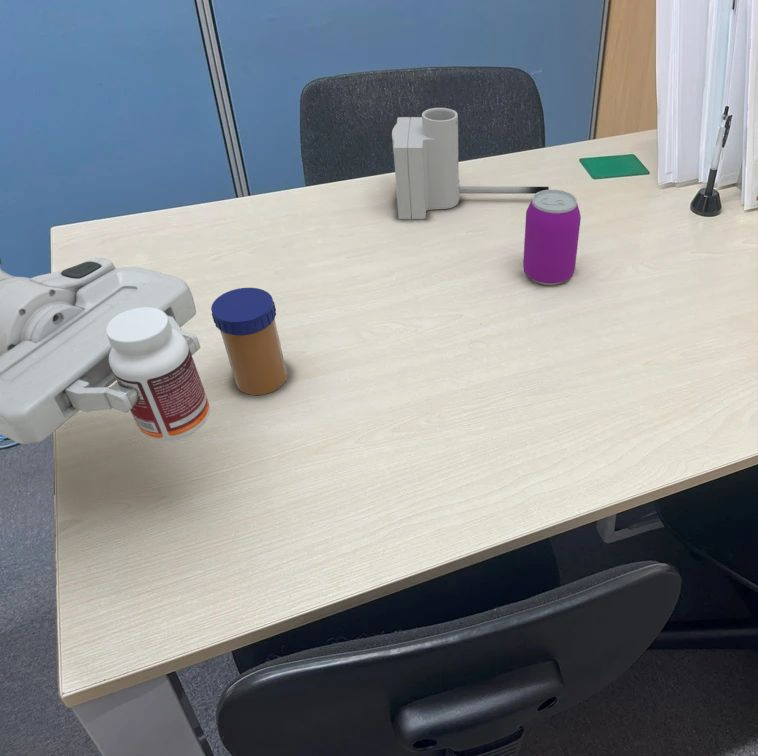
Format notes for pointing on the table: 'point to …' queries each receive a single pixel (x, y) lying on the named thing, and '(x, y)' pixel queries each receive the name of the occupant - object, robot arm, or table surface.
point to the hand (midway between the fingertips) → (164, 372)
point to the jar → (256, 360)
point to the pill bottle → (157, 374)
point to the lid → (243, 311)
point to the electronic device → (432, 165)
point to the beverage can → (551, 237)
